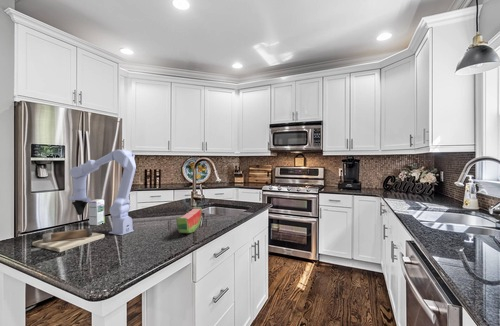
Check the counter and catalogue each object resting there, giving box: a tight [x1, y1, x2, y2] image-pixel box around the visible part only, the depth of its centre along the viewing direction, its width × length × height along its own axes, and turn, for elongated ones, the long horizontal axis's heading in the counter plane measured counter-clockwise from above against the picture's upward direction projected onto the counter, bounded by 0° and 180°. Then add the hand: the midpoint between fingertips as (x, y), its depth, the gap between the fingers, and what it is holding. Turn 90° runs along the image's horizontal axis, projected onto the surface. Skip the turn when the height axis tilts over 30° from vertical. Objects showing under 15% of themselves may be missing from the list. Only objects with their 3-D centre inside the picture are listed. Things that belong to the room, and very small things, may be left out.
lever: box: [42, 227, 93, 242], centre depth 112 cm, size 19×4×3 cm, turn 119°
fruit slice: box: [176, 206, 202, 234], centre depth 130 cm, size 26×6×10 cm, turn 175°
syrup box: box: [88, 198, 106, 226], centre depth 143 cm, size 6×6×14 cm
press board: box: [32, 231, 105, 253], centre depth 114 cm, size 20×20×2 cm
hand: (80, 214), depth 127 cm, fingers closed
